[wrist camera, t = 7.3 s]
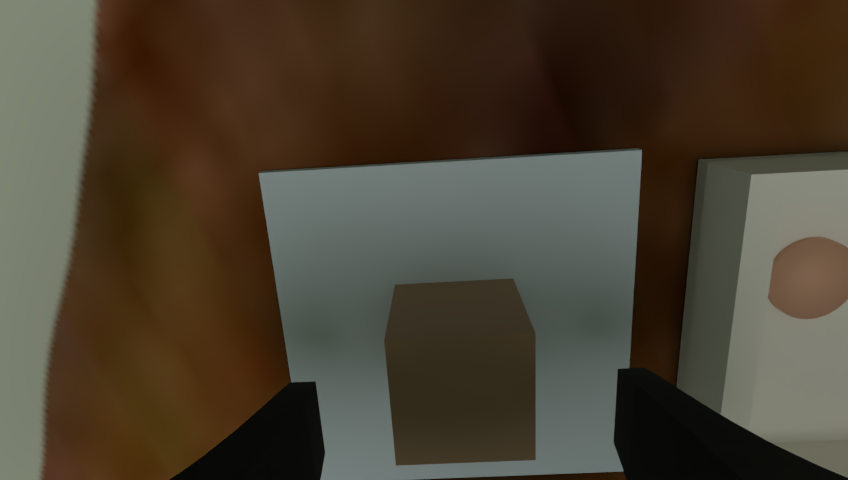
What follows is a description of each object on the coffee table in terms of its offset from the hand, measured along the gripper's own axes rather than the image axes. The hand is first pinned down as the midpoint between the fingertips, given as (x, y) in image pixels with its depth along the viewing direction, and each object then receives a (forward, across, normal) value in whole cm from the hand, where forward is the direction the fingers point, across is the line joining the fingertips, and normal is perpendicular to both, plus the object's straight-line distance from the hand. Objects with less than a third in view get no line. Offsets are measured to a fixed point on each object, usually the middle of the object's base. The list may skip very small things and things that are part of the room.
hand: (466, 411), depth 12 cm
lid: (+5, 0, 0) cm, 5 cm away
